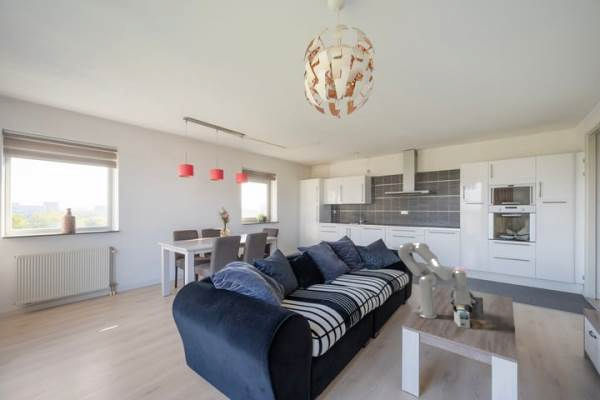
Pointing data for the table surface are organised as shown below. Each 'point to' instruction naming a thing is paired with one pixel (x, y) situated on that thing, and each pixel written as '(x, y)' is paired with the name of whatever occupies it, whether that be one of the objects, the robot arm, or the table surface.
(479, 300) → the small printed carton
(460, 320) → the light bulb box
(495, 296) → the table surface
